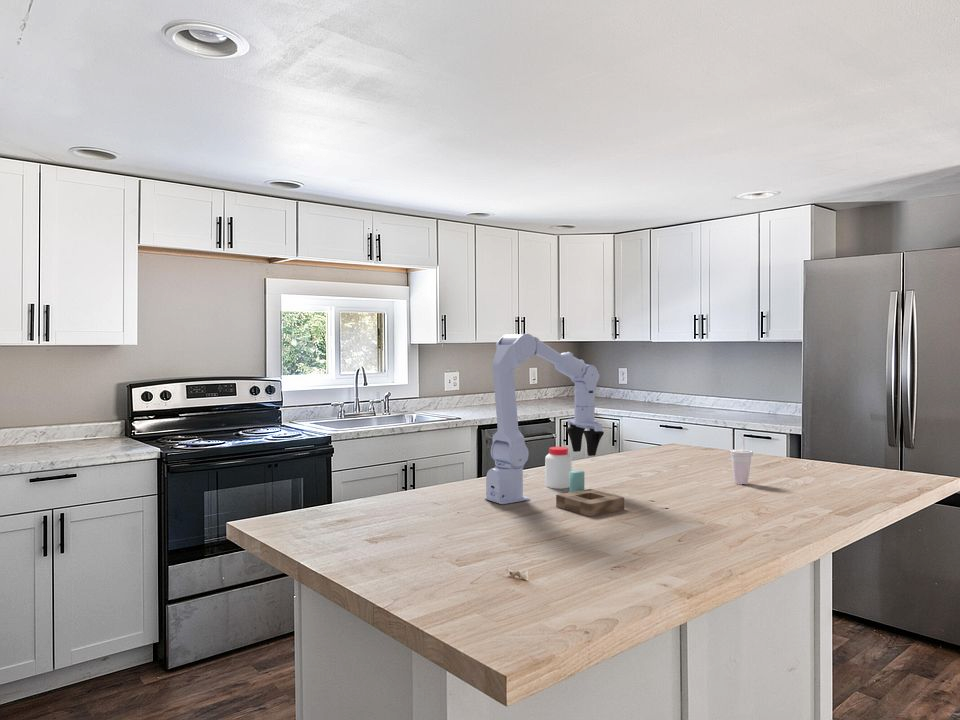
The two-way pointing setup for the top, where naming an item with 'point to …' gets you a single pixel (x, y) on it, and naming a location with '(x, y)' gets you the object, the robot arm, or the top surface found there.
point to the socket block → (590, 502)
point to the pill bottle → (557, 468)
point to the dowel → (576, 480)
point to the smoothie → (741, 464)
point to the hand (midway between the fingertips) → (584, 453)
